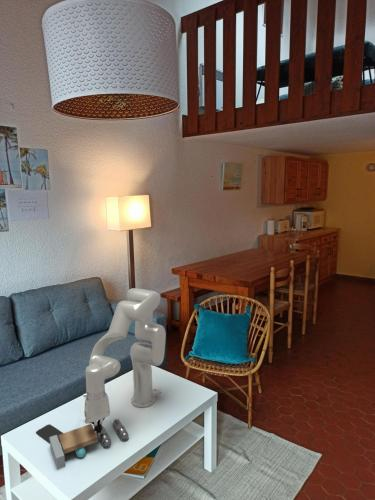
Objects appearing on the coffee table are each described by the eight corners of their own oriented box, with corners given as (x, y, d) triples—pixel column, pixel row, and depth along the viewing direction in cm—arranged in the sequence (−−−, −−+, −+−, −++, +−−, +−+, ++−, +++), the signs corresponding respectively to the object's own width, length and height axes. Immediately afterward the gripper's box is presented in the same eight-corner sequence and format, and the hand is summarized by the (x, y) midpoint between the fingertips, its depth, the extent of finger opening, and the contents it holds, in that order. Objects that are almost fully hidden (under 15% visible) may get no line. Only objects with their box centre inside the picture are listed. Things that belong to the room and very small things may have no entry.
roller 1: (87, 457, 149) (86, 449, 148) (78, 461, 147) (77, 453, 146) (78, 437, 160) (77, 430, 160) (70, 441, 158) (69, 434, 158)
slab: (91, 427, 161) (90, 423, 160) (98, 441, 152) (97, 436, 152) (58, 439, 154) (58, 435, 153) (64, 454, 145) (63, 449, 145)
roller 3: (119, 423, 170) (118, 416, 169) (130, 440, 158) (129, 433, 158) (111, 425, 168) (111, 418, 167) (122, 443, 157) (122, 436, 156)
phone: (49, 423, 169) (68, 436, 161) (49, 425, 170) (68, 437, 161) (34, 432, 164) (53, 445, 155) (34, 433, 164) (53, 447, 155)
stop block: (57, 445, 156) (56, 434, 155) (65, 466, 144) (64, 455, 143) (50, 447, 154) (49, 437, 153) (57, 469, 143) (56, 458, 142)
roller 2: (102, 429, 166) (102, 422, 165) (112, 447, 154) (112, 440, 154) (94, 432, 164) (94, 425, 163) (104, 450, 153) (104, 443, 152)
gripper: (80, 403, 147) (83, 443, 150) (115, 392, 154) (117, 430, 158) (75, 394, 153) (78, 432, 157) (109, 383, 161) (111, 420, 164)
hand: (98, 431), depth 157 cm, fingers closed
